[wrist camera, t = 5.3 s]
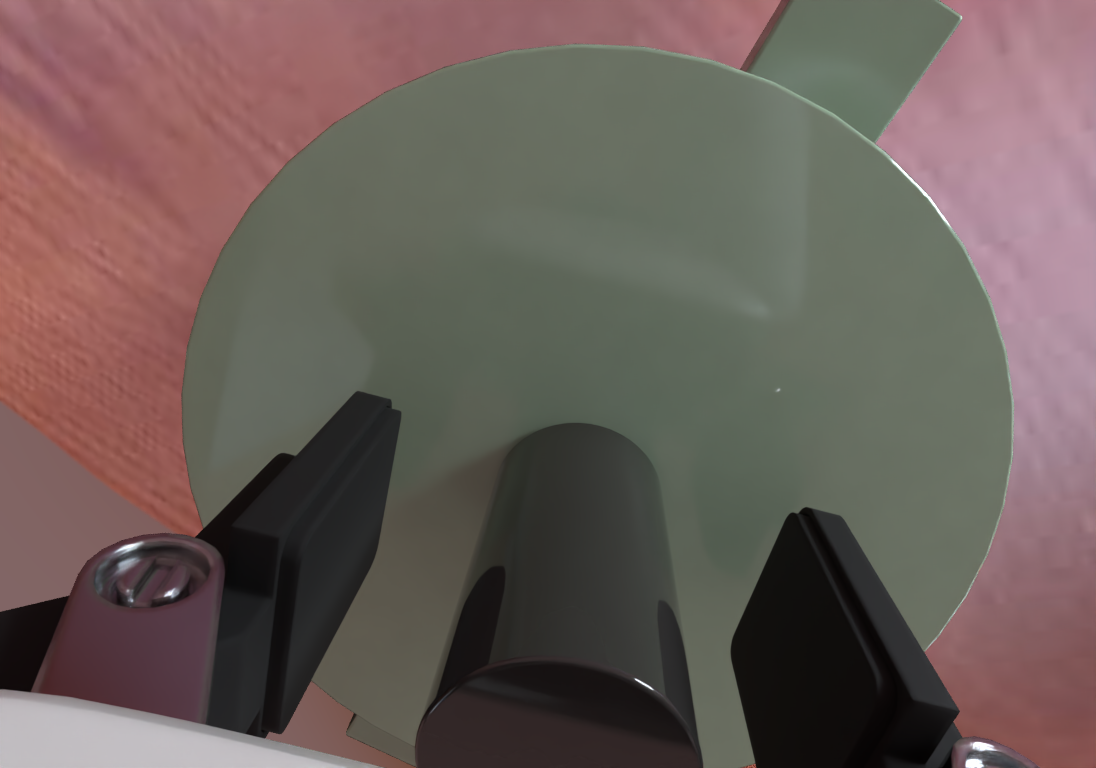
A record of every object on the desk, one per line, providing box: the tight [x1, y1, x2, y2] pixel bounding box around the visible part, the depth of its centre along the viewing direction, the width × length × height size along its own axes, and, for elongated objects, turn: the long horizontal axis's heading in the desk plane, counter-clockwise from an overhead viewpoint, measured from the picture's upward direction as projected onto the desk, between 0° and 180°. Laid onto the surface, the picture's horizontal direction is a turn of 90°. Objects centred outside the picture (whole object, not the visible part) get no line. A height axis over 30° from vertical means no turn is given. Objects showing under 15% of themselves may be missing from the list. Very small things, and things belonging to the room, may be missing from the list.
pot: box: [346, 0, 962, 768], centre depth 19 cm, size 14×19×14 cm
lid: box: [181, 44, 1014, 768], centre depth 10 cm, size 15×15×7 cm
